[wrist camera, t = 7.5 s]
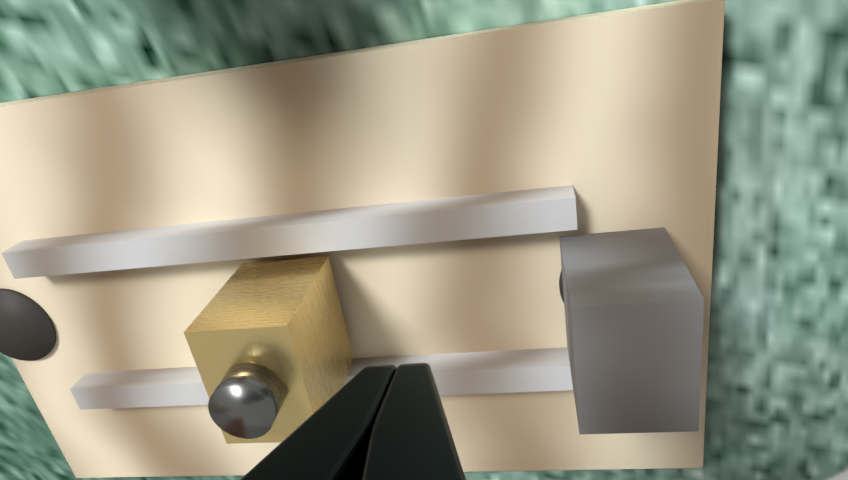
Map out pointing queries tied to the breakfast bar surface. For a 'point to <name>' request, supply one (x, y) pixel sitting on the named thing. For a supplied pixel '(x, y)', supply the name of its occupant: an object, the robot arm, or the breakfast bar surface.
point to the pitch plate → (386, 237)
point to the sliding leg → (271, 348)
